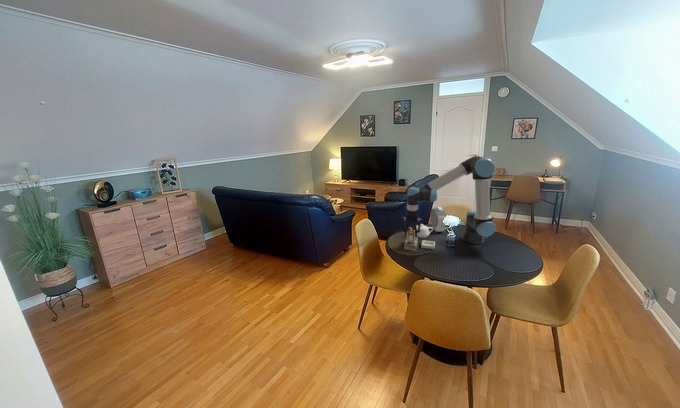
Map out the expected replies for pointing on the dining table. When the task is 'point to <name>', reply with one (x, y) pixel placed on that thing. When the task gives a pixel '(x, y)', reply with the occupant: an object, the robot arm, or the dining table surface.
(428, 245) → the tray
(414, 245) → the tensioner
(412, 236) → the pin
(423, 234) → the teapot
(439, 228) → the grey piece
